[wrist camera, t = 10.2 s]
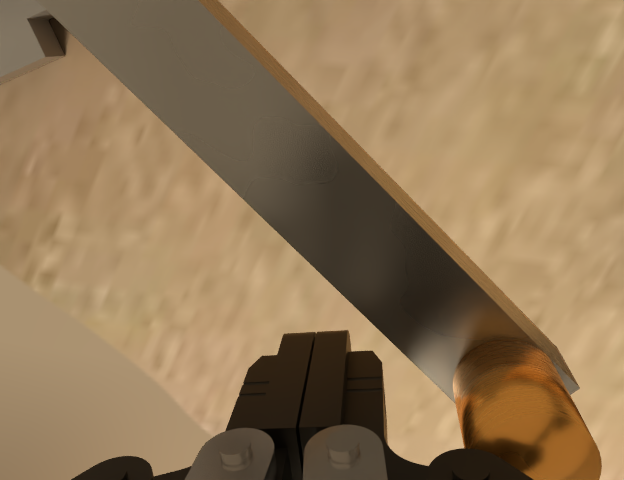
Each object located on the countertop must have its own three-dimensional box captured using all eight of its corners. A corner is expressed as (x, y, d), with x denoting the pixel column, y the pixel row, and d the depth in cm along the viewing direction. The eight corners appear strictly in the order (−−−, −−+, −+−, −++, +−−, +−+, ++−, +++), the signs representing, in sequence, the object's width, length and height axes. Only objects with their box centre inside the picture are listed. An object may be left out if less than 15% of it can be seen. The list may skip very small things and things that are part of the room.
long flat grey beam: (-242, -281, 11) (-583, -454, 7) (-173, -435, 10) (-519, -729, 6) (471, 408, 14) (505, 550, 10) (572, 336, 13) (651, 461, 9)
